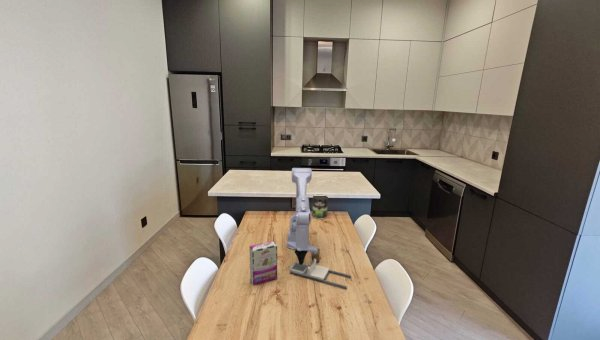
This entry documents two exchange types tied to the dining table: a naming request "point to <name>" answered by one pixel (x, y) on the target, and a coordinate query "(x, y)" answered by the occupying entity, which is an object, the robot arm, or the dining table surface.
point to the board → (302, 272)
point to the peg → (316, 256)
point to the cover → (317, 271)
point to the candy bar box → (263, 262)
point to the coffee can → (320, 207)
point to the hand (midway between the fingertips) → (301, 263)
